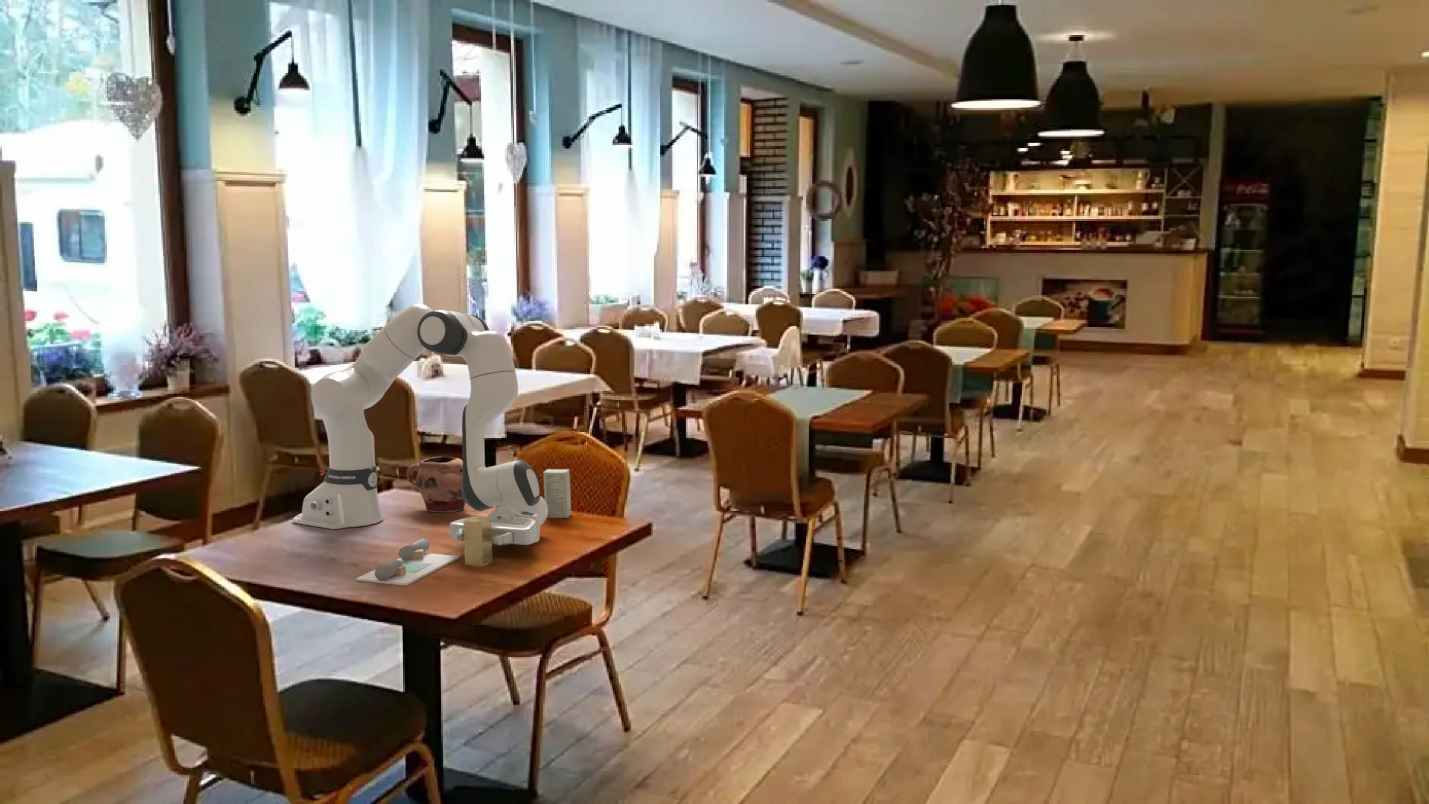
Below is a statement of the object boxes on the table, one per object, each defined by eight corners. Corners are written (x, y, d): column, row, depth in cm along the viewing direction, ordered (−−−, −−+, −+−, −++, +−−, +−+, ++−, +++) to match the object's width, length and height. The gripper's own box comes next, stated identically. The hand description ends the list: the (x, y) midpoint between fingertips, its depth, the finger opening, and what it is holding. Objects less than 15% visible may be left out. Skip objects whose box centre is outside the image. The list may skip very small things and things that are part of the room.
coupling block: (465, 564, 262) (463, 521, 260) (474, 559, 266) (473, 516, 264) (482, 566, 260) (481, 522, 259) (492, 561, 265) (491, 518, 263)
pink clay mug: (394, 512, 311) (392, 460, 309) (417, 502, 322) (415, 452, 321) (463, 517, 306) (461, 464, 304) (484, 506, 317) (482, 456, 315)
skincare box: (571, 514, 309) (570, 469, 307) (567, 518, 305) (567, 472, 303) (547, 513, 310) (547, 468, 308) (543, 517, 305) (543, 471, 304)
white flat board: (415, 552, 271) (415, 537, 271) (461, 557, 268) (461, 542, 267) (356, 580, 250) (355, 564, 249) (406, 585, 246) (405, 569, 246)
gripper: (465, 508, 278) (435, 522, 264) (545, 515, 272) (517, 529, 258) (466, 534, 278) (436, 549, 265) (545, 541, 272) (518, 557, 259)
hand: (477, 539), depth 262 cm, fingers open, 8 cm apart
